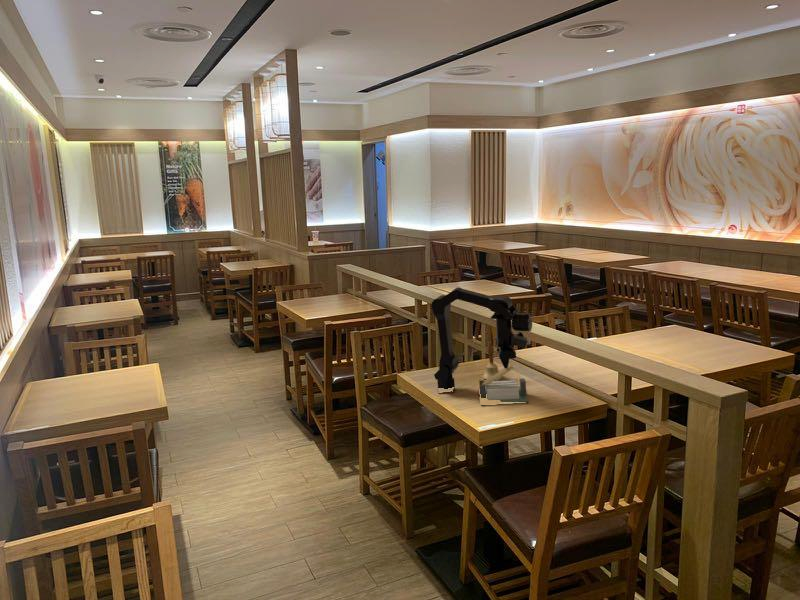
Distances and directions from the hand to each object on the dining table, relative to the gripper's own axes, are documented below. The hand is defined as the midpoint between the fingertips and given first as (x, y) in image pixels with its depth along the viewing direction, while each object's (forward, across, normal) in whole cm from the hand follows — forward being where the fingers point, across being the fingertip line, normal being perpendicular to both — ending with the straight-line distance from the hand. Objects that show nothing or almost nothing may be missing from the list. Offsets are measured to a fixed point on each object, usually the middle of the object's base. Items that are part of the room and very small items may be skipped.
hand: (505, 368), depth 230 cm
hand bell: (+12, +21, +4) cm, 25 cm away
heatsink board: (+12, 0, +2) cm, 12 cm away
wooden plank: (+3, 0, +3) cm, 5 cm away
